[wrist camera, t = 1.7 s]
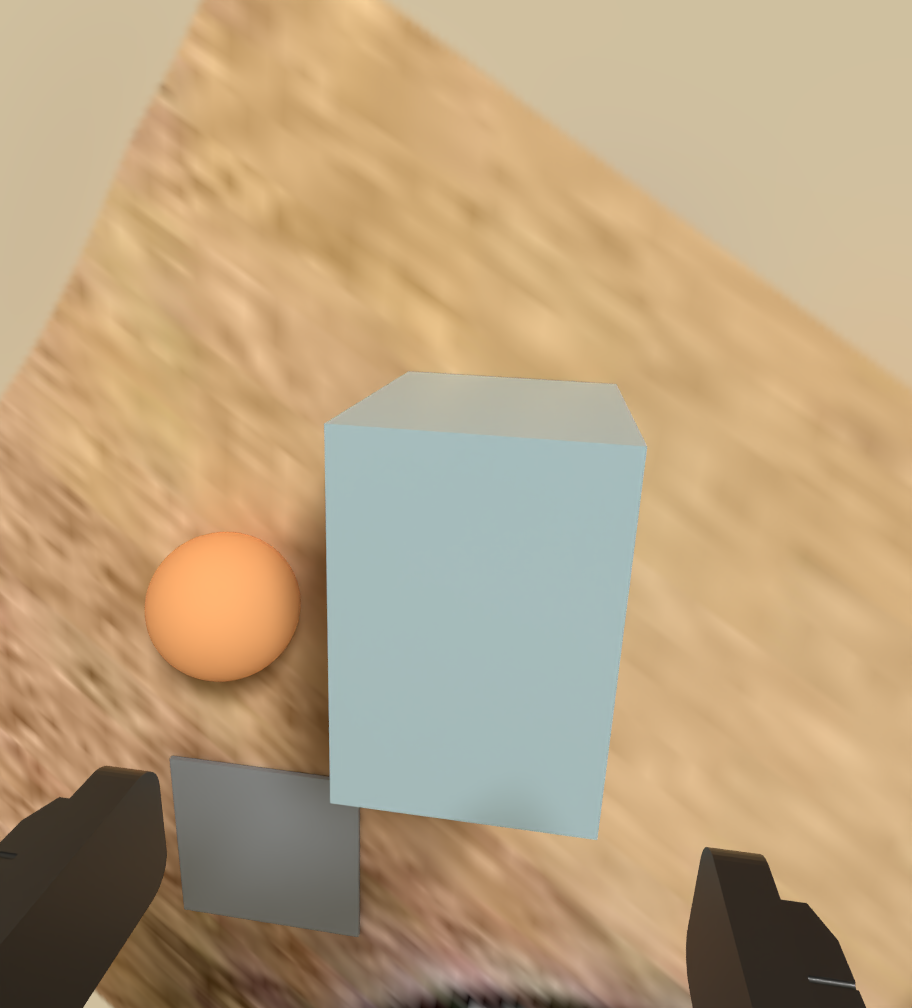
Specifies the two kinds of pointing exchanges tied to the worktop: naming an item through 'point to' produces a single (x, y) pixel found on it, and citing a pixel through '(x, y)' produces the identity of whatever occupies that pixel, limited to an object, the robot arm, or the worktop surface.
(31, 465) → the worktop surface
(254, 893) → the plate
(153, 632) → the ball
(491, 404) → the light blue block
